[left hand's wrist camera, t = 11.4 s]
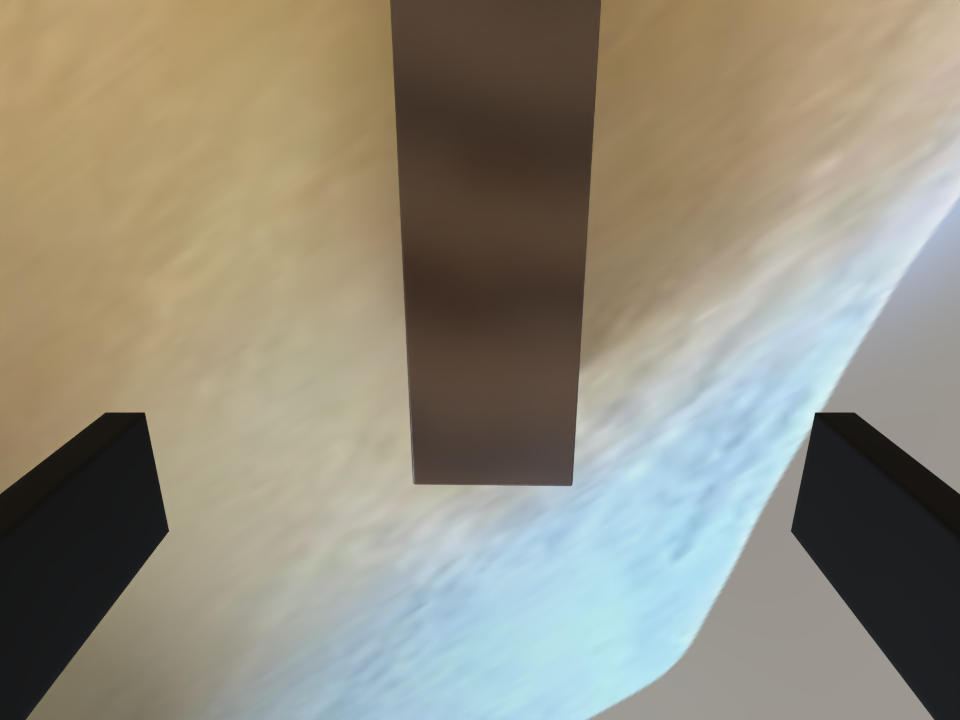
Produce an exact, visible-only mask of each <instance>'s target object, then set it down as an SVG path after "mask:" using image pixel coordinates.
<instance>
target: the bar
mask: <svg viewBox="0 0 960 720" xmlns="http://www.w3.org/2000/svg"><path fill="white" fill-rule="evenodd" d="M390 5H391V26H392V47H393V69H394V90H395V111H396V132H397V153H398V174H399V196H400V217H401V238H402V259H403V280H404V301H405V323H406V344H407V365H408V386H409V407H410V429H411V450H412V471H413V483H414V484H430V485H530V486H572V483H573V466H574V449H575V433H576V416H577V399H578V382H579V365H580V348H581V331H582V314H583V297H584V280H585V263H586V247H587V230H588V213H589V196H590V179H591V162H592V145H593V128H594V111H595V94H596V78H597V61H598V44H599V27H600V10H601V0H390Z"/></svg>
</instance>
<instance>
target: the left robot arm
mask: <svg viewBox="0 0 960 720" xmlns="http://www.w3.org/2000/svg"><path fill="white" fill-rule="evenodd" d="M168 532H169V529H168V524H167V519H166V514H165V509H164V504H163V499H162V494H161V490H160V485H159V480H158V475H157V470H156V465H155V460H154V455H153V450H152V446H151V441H150V436H149V431H148V426H147V421H146V416H145V413H104V414H103V415H102V416H101V417H99V418H98V419H97V420H95V421H94V422H93V423H92V424H90V425H89V426H88V427H86V428H85V429H84V430H83V431H81V432H80V433H79V434H77V435H76V436H75V437H73V438H72V439H71V440H70V441H68V442H67V443H66V444H64V445H63V446H62V447H61V448H59V449H58V450H57V451H55V452H54V453H53V454H52V455H50V456H49V457H48V458H46V459H45V460H44V461H43V462H41V463H40V464H39V465H37V466H36V467H35V468H34V469H32V470H31V471H30V472H28V473H27V474H26V475H24V476H23V477H22V478H21V479H19V480H18V481H17V482H15V483H14V484H13V485H12V486H10V487H9V488H8V489H6V490H5V491H4V492H3V493H1V494H0V720H26V718H27V717H28V716H29V714H30V713H31V712H32V711H33V709H34V708H35V707H36V705H37V704H38V703H39V701H40V700H41V699H42V697H43V696H44V695H45V693H46V692H47V691H48V690H49V688H50V687H51V686H52V684H53V683H54V682H55V680H56V679H57V678H58V676H59V675H60V674H61V672H62V671H63V670H64V668H65V667H66V666H67V665H68V663H69V662H70V661H71V659H72V658H73V657H74V655H75V654H76V653H77V651H78V650H79V649H80V647H81V646H82V645H83V644H84V642H85V641H86V640H87V638H88V637H89V636H90V634H91V633H92V632H93V630H94V629H95V628H96V626H97V625H98V624H99V622H100V621H101V620H102V619H103V617H104V616H105V615H106V613H107V612H108V611H109V609H110V608H111V607H112V605H113V604H114V603H115V601H116V600H117V599H118V598H119V596H120V595H121V594H122V592H123V591H124V590H125V588H126V587H127V586H128V584H129V583H130V582H131V580H132V579H133V578H134V576H135V575H136V574H137V573H138V571H139V570H140V569H141V567H142V566H143V565H144V563H145V562H146V561H147V559H148V558H149V557H150V555H151V554H152V553H153V552H154V550H155V549H156V548H157V546H158V545H159V544H160V542H161V541H162V540H163V538H164V537H165V536H166V534H167V533H168ZM791 532H792V533H793V534H794V536H795V537H796V538H797V540H798V541H799V542H800V544H801V545H802V546H803V547H804V549H805V550H806V551H807V553H808V554H809V555H810V557H811V558H812V559H813V561H814V562H815V563H816V565H817V566H818V567H819V569H820V570H821V571H822V573H823V574H824V575H825V576H826V578H827V579H828V580H829V582H830V583H831V584H832V586H833V587H834V588H835V590H836V591H837V592H838V594H839V595H840V596H841V597H842V599H843V600H844V601H845V603H846V604H847V605H848V607H849V608H850V609H851V611H852V612H853V613H854V615H855V616H856V617H857V619H858V620H859V621H860V622H861V624H862V625H863V626H864V628H865V629H866V630H867V632H868V633H869V634H870V636H871V637H872V638H873V640H874V641H875V642H876V644H877V645H878V646H879V647H880V649H881V650H882V651H883V653H884V654H885V655H886V657H887V658H888V659H889V661H890V662H891V663H892V665H893V666H894V667H895V668H896V670H897V671H898V672H899V674H900V675H901V676H902V678H903V679H904V680H905V682H906V683H907V684H908V686H909V687H910V688H911V690H912V691H913V692H914V693H915V695H916V696H917V697H918V699H919V700H920V701H921V703H922V704H923V705H924V707H925V708H926V709H927V711H928V712H929V713H930V714H931V716H932V717H933V718H934V720H960V494H959V493H957V492H956V491H955V490H953V489H952V488H951V487H950V486H948V485H947V484H946V483H945V482H943V481H942V480H941V479H939V478H938V477H937V476H936V475H934V474H933V473H932V472H930V471H929V470H928V469H926V468H925V467H924V466H923V465H921V464H920V463H919V462H917V461H916V460H915V459H914V458H912V457H911V456H910V455H908V454H907V453H906V452H905V451H903V450H902V449H901V448H899V447H898V446H897V445H895V444H894V443H893V442H892V441H890V440H889V439H888V438H886V437H885V436H884V435H883V434H881V433H880V432H879V431H877V430H876V429H875V428H874V427H872V426H871V425H870V424H868V423H867V422H866V421H865V420H863V419H862V418H861V417H859V416H858V415H857V414H856V413H815V416H814V421H813V426H812V431H811V436H810V441H809V446H808V450H807V456H806V460H805V465H804V470H803V475H802V480H801V485H800V490H799V495H798V499H797V504H796V509H795V514H794V519H793V524H792V529H791Z"/></svg>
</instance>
